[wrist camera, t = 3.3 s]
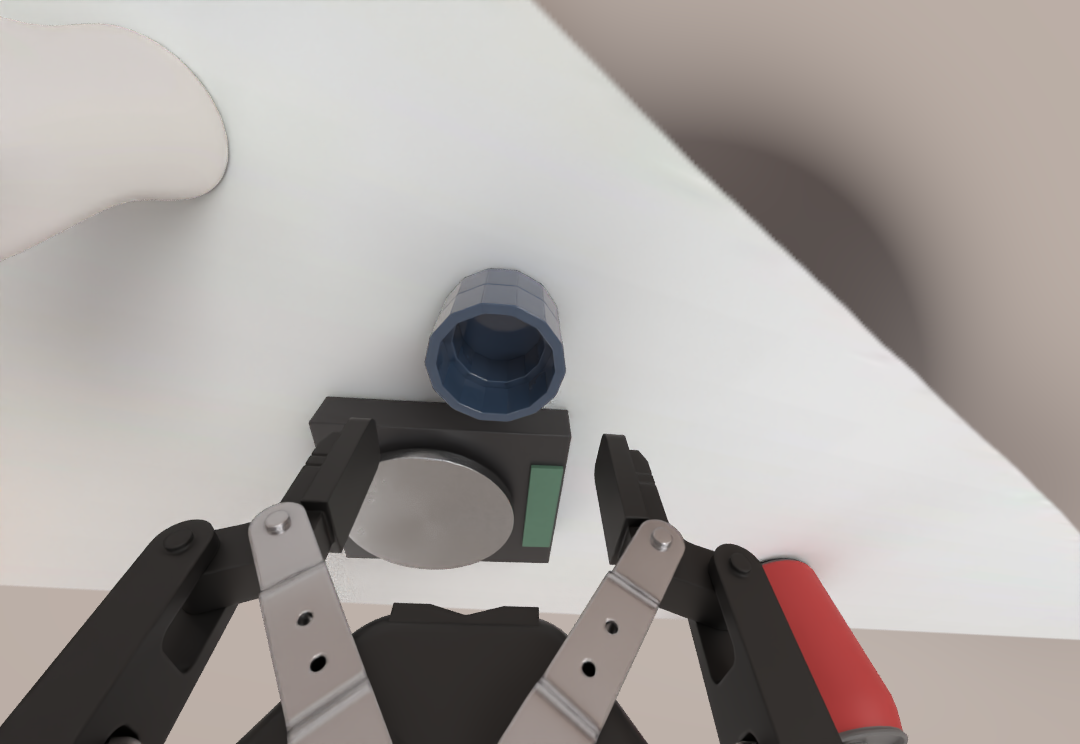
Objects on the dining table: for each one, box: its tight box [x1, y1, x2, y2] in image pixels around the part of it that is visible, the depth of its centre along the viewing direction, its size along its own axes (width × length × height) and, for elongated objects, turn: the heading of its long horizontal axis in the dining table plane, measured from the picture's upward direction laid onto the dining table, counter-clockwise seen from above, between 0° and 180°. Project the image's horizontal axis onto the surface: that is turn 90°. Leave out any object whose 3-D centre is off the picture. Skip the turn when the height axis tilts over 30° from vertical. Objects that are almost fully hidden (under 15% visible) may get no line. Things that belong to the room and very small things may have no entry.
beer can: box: [761, 559, 908, 744], centre depth 32 cm, size 7×7×12 cm
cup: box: [425, 268, 566, 422], centre depth 20 cm, size 6×6×5 cm
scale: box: [309, 397, 571, 563], centre depth 28 cm, size 13×15×3 cm
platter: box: [349, 448, 514, 569], centre depth 26 cm, size 11×11×1 cm
